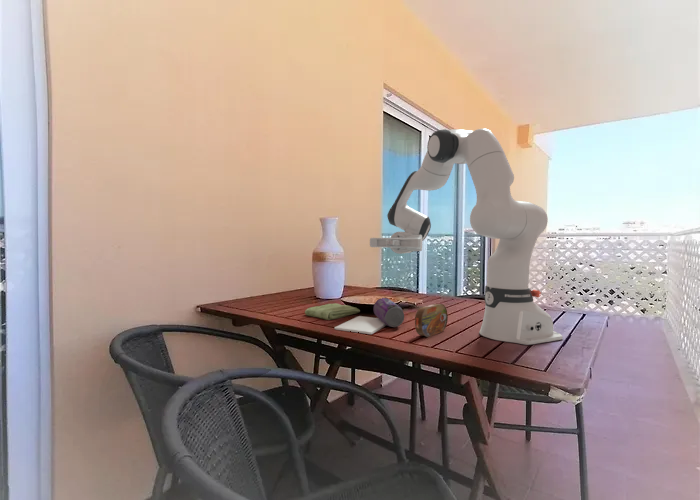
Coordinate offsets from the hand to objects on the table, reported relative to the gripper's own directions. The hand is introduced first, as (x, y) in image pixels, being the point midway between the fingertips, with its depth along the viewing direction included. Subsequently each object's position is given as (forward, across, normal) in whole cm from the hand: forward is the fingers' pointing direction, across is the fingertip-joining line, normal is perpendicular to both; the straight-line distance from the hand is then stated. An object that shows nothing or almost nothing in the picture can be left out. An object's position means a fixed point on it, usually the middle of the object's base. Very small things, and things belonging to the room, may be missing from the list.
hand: (389, 242), depth 137 cm
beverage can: (+12, +2, +22) cm, 25 cm away
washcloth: (+12, -17, +26) cm, 34 cm away
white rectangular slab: (+22, 0, +26) cm, 34 cm away
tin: (+21, +20, +26) cm, 40 cm away
